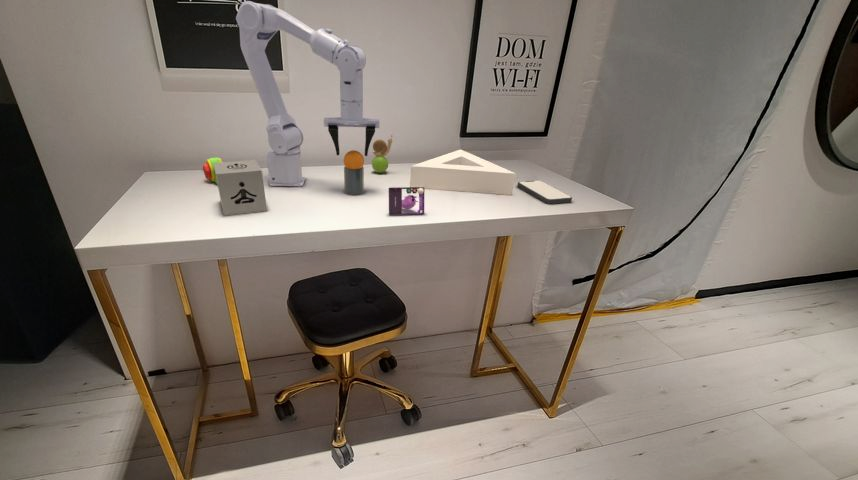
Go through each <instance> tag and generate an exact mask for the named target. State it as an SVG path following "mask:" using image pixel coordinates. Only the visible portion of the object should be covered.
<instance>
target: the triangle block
mask: <svg viewBox="0 0 858 480" xmlns="http://www.w3.org/2000/svg"><path fill="white" fill-rule="evenodd" d="M516 177H517V173H516V172H514V171H512V170H509V169H506V168H504V167H502V166H500V165H497V164H495V163H493V162H490V161H489V160H486V159H483V158H482V157H479V156H478V155H475V154H473V153H470V152H468V151H465V150H463V149H457V150H454V151H451V152H449V153H445V154H443V155H440V156H437V157H434V158H431V159H428V160H425V161H422V162H419V163H416V164H413V165H410V177H409V179H410V180H409V187H424V189H426V190H427V189H428V190H440V191H452V192H464V193H465V192H466V193H480V194H492V195H505V196H512V195H513V191H514V185H515V181H516Z"/></svg>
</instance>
